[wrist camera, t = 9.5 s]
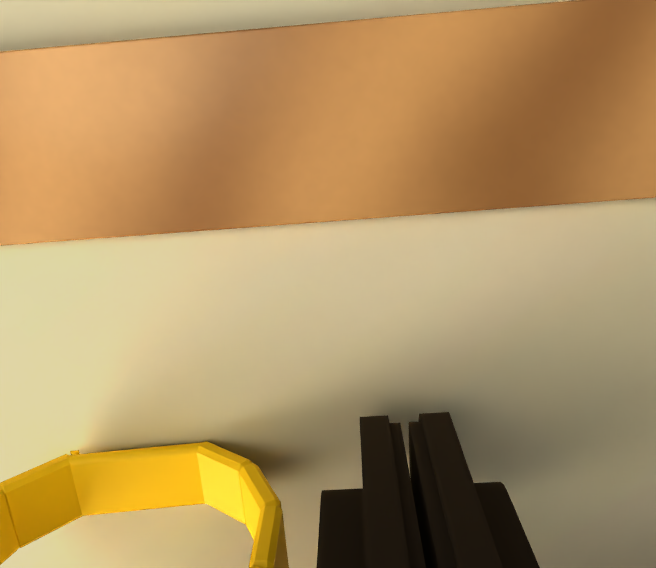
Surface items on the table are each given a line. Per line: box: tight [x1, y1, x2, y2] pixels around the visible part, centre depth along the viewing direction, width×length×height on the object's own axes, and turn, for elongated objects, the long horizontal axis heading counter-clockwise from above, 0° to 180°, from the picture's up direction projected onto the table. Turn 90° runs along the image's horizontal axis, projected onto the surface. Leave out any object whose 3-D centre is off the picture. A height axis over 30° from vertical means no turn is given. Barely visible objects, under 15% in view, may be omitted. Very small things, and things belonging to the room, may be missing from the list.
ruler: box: [0, 0, 656, 245], centre depth 9 cm, size 30×3×1 cm, turn 94°
